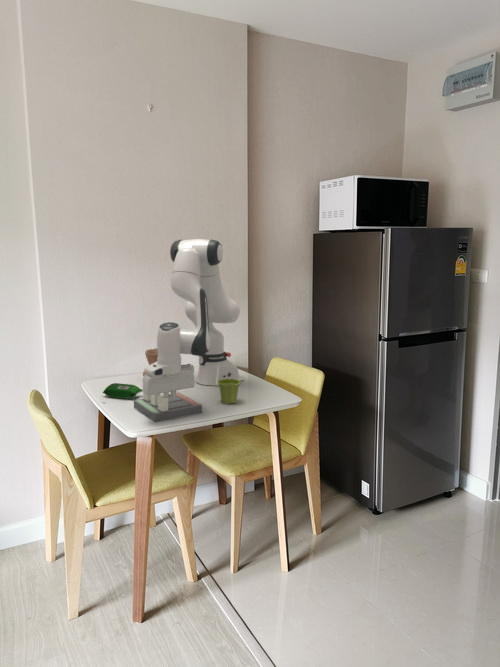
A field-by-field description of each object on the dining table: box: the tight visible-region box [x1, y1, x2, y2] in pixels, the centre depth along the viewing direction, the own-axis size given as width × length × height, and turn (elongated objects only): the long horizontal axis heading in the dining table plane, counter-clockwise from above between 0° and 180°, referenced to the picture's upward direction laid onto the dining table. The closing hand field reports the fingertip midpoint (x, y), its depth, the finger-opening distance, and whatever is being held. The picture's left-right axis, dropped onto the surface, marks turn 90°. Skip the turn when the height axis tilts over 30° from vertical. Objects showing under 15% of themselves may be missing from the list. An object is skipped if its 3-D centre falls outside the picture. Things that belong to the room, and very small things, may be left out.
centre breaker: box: [151, 393, 162, 406], centre depth 204 cm, size 2×4×5 cm
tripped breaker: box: [158, 394, 168, 412], centre depth 198 cm, size 2×4×5 cm
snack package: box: [102, 382, 143, 400], centre depth 222 cm, size 7×16×5 cm, turn 75°
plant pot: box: [218, 379, 242, 405], centre depth 218 cm, size 9×9×9 cm
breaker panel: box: [133, 391, 203, 423], centre depth 207 cm, size 20×19×3 cm
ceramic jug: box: [142, 347, 158, 377], centre depth 246 cm, size 18×14×14 cm
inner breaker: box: [142, 392, 151, 401], centre depth 209 cm, size 2×4×5 cm
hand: (169, 402), depth 199 cm, fingers closed
